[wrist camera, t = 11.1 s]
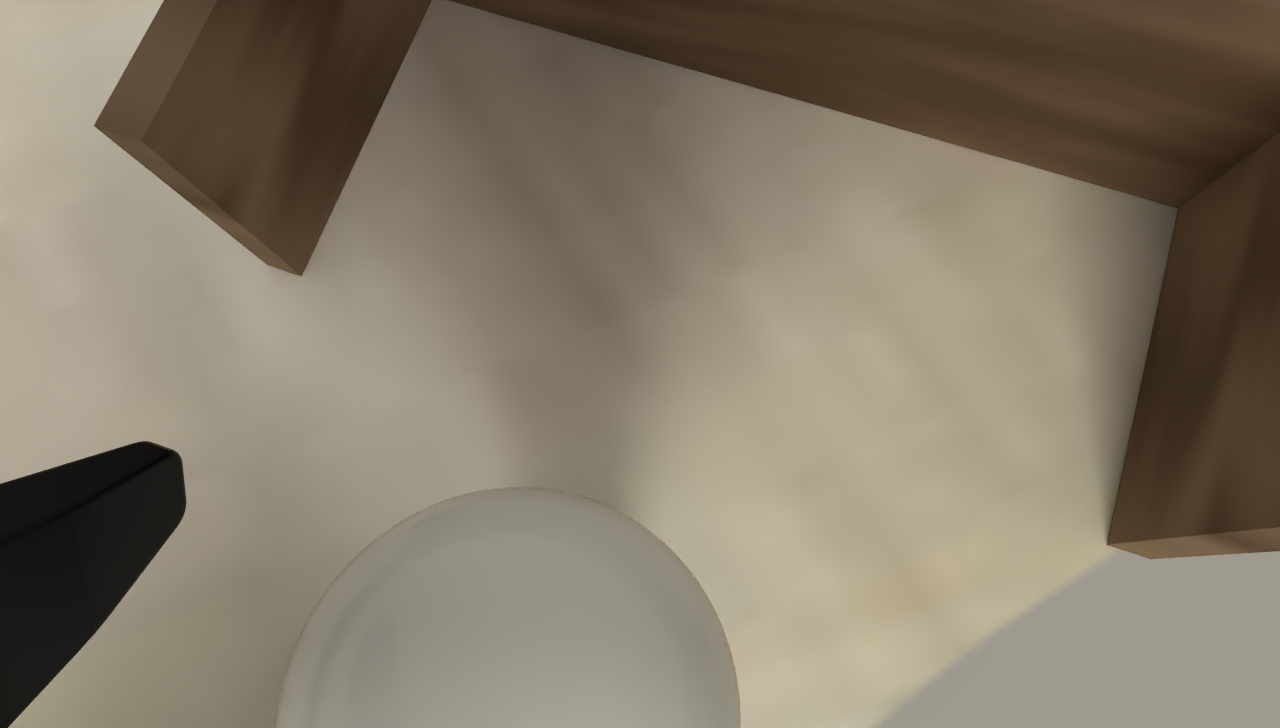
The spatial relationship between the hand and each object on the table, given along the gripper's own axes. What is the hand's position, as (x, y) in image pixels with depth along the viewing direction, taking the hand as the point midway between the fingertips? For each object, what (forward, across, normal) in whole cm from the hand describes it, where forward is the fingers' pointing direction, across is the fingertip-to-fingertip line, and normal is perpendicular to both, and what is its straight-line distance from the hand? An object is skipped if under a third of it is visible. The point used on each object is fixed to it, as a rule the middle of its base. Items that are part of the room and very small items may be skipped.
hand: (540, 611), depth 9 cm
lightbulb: (+7, 0, +9) cm, 11 cm away
